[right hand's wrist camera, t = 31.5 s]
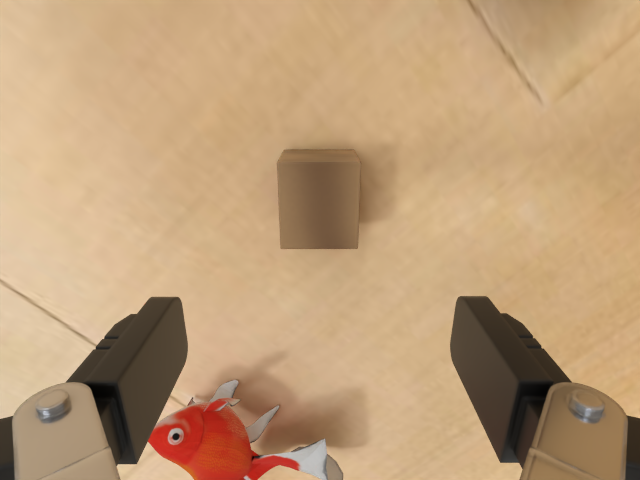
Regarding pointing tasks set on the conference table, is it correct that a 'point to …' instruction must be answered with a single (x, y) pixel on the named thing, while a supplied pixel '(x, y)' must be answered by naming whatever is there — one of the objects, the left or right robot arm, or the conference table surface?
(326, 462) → the fish
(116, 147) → the conference table surface
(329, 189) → the brick
